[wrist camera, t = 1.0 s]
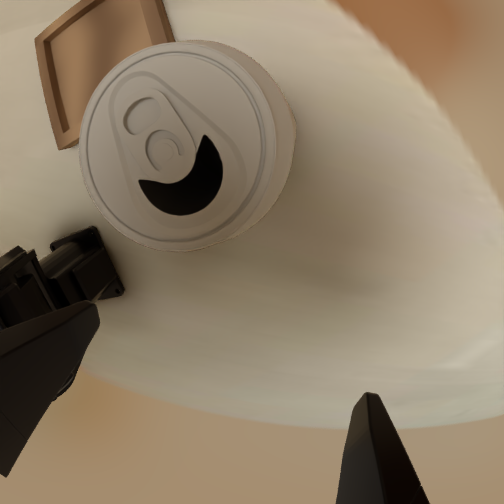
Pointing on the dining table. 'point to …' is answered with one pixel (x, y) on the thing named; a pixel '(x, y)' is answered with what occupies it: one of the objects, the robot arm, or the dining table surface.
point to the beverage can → (186, 145)
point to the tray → (92, 54)
